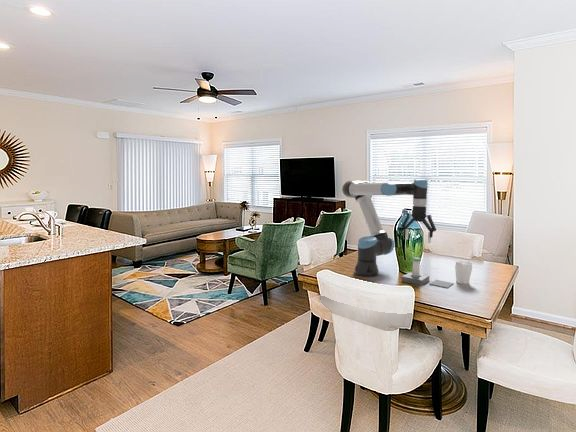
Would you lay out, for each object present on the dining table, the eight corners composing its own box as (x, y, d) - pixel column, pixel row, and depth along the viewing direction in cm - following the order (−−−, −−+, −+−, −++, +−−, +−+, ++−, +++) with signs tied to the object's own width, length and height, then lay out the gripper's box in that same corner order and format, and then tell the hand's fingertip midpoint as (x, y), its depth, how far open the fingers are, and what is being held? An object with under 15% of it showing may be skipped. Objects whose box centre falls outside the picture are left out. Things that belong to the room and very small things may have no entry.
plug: (409, 281, 218) (411, 258, 216) (413, 279, 222) (414, 256, 220) (417, 282, 215) (418, 259, 213) (421, 280, 218) (422, 258, 217)
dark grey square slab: (401, 281, 218) (401, 276, 218) (410, 276, 227) (410, 272, 226) (421, 285, 210) (421, 280, 210) (429, 280, 219) (429, 275, 218)
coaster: (429, 284, 212) (429, 283, 211) (436, 280, 219) (436, 279, 219) (447, 288, 205) (447, 287, 205) (453, 284, 212) (453, 283, 212)
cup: (461, 285, 210) (463, 265, 208) (450, 280, 218) (452, 261, 217) (474, 284, 212) (476, 264, 211) (463, 279, 221) (464, 260, 219)
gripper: (396, 204, 218) (395, 239, 221) (438, 207, 201) (436, 245, 204) (402, 203, 223) (400, 237, 226) (443, 206, 207) (441, 243, 210)
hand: (417, 241), depth 215 cm, fingers open, 13 cm apart
